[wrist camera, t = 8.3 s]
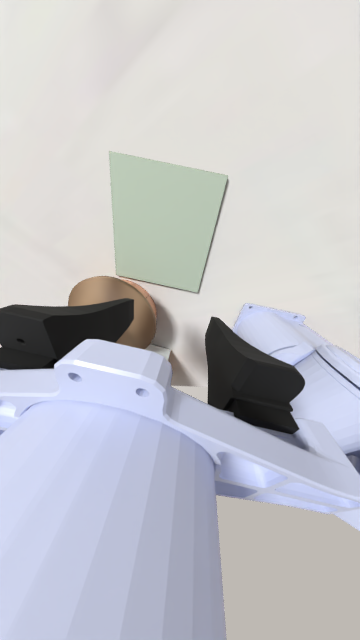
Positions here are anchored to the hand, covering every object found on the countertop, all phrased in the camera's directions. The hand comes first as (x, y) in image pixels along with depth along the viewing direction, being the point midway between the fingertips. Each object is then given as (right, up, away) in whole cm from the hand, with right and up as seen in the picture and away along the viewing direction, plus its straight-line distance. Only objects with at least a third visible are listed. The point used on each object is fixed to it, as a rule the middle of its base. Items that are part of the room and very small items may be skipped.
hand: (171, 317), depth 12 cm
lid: (-9, 0, +9) cm, 13 cm away
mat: (-2, +11, +6) cm, 13 cm away
